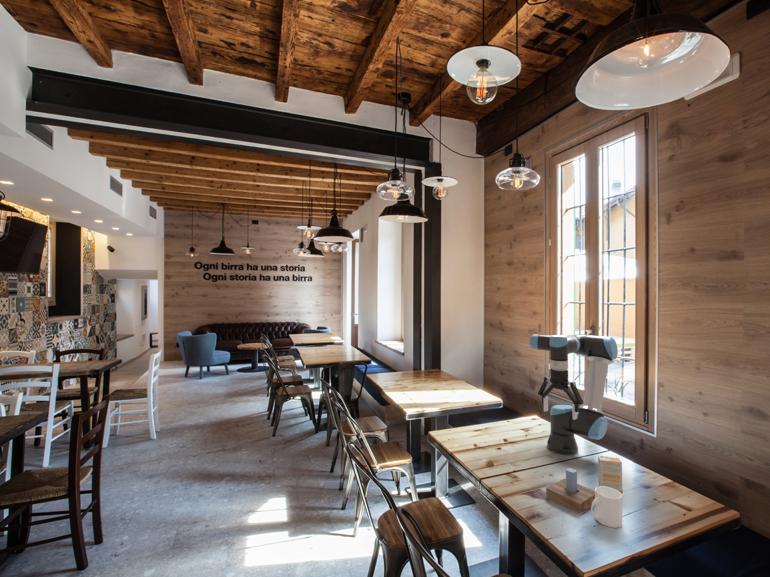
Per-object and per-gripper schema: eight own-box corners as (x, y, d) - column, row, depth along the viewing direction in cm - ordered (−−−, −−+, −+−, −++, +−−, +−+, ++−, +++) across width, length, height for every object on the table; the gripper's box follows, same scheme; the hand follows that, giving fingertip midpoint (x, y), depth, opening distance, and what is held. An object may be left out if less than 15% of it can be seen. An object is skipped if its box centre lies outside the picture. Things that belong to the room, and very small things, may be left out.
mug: (582, 517, 138) (582, 488, 138) (608, 512, 141) (608, 484, 141) (600, 531, 130) (600, 501, 130) (628, 526, 133) (627, 496, 133)
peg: (569, 497, 152) (569, 467, 152) (577, 500, 149) (576, 470, 150) (566, 499, 150) (565, 469, 150) (573, 502, 148) (573, 472, 148)
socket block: (564, 487, 159) (564, 478, 159) (598, 502, 148) (598, 492, 148) (546, 497, 151) (546, 487, 151) (580, 514, 140) (580, 503, 140)
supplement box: (619, 488, 159) (619, 457, 159) (622, 493, 155) (622, 462, 155) (597, 484, 162) (597, 454, 162) (600, 490, 157) (600, 459, 157)
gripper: (529, 365, 177) (530, 409, 177) (583, 375, 157) (584, 424, 157) (538, 363, 181) (539, 406, 182) (591, 372, 161) (592, 420, 162)
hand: (560, 414), depth 169 cm, fingers open, 13 cm apart
